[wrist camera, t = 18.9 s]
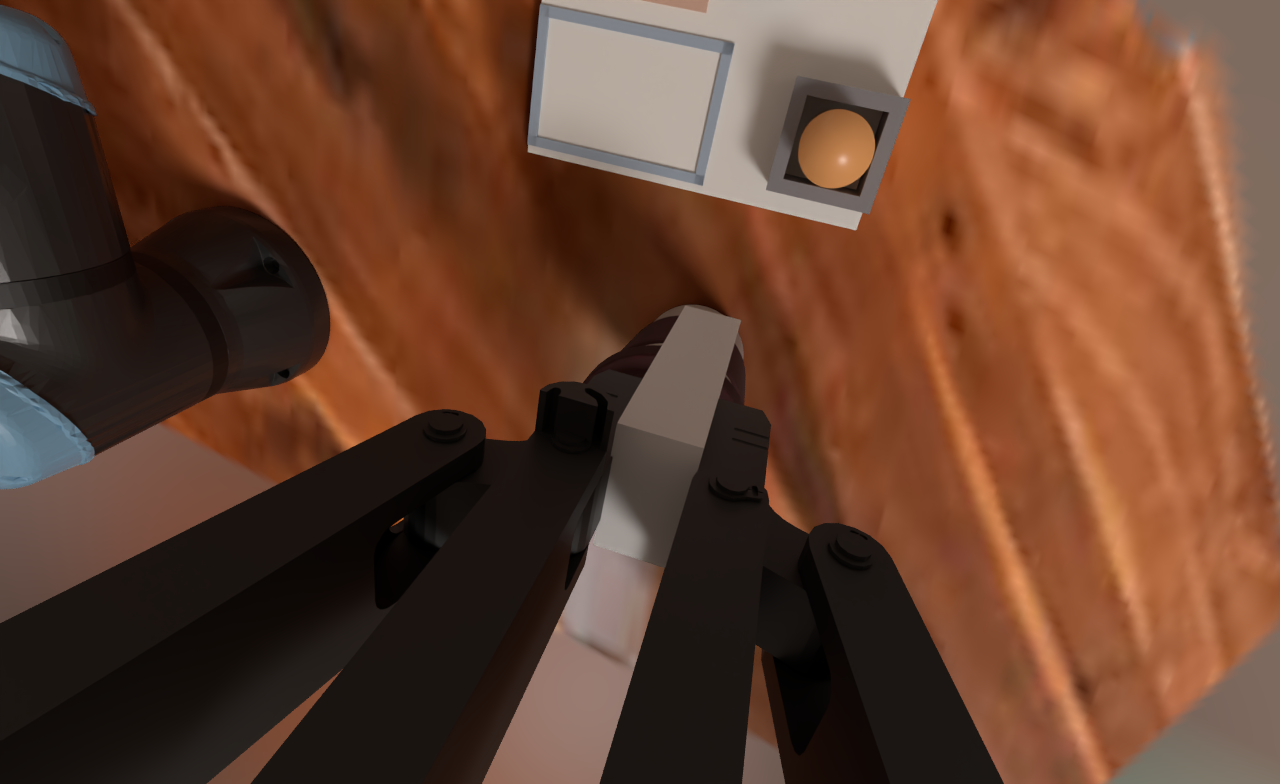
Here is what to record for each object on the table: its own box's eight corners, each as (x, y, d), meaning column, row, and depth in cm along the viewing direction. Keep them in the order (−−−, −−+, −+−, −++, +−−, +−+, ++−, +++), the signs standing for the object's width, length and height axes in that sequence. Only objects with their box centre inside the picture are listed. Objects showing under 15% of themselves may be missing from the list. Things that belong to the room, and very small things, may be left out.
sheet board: (532, 151, 41) (508, 155, 38) (561, -151, 34) (534, -178, 31) (855, 227, 39) (859, 240, 35) (964, -83, 31) (983, -104, 28)
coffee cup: (680, 255, 42) (623, 327, 29) (792, 342, 43) (786, 450, 30) (605, 356, 47) (526, 457, 34) (706, 433, 47) (668, 561, 34)
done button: (790, 169, 37) (789, 179, 33) (810, 102, 35) (811, 102, 31) (853, 183, 37) (859, 195, 32) (876, 116, 35) (886, 118, 30)
